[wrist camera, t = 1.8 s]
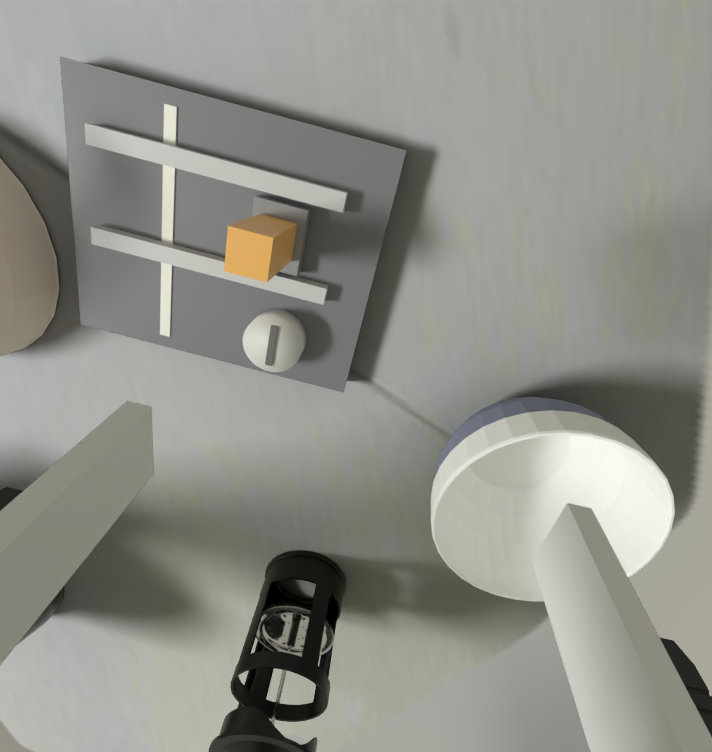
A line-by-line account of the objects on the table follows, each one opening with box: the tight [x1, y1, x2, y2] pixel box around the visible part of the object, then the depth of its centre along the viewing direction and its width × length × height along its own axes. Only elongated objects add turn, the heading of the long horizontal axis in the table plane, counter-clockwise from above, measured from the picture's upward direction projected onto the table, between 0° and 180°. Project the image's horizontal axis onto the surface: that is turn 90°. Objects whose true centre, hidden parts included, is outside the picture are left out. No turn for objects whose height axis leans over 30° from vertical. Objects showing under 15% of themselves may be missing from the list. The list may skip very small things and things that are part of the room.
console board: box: [60, 57, 407, 392], centre depth 30 cm, size 22×18×4 cm
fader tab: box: [224, 195, 311, 282], centre depth 26 cm, size 4×4×7 cm
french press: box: [209, 551, 346, 752], centre depth 39 cm, size 12×9×23 cm
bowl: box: [431, 397, 675, 602], centre depth 33 cm, size 16×16×10 cm
